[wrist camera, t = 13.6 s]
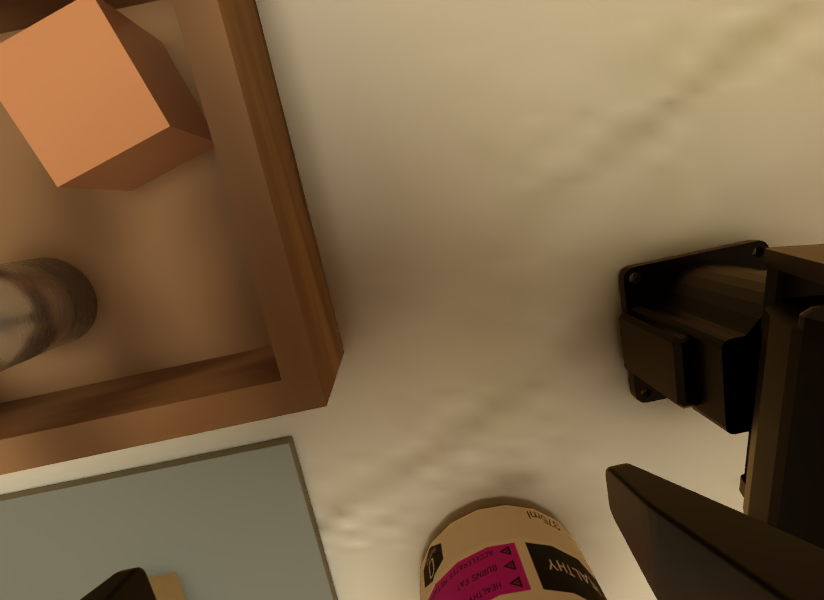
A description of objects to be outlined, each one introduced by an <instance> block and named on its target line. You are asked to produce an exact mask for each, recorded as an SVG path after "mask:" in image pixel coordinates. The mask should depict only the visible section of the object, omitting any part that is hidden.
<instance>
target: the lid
mask: <svg viewBox="0 0 824 600" xmlns="http://www.w3.org/2000/svg"><path fill="white" fill-rule="evenodd" d="M135 567H140V568H142V569H144V570H145V572H146V574H147V576H148V579H149V581H150V584H151V586H152V589H153V591H154V594H155V596H156V599H157V600H338V599H337V596H336V592H335V588H334V585H333V581H332V578H331V574H330V571H329V567H328V564H327V560H326V556H325V553H324V549H323V546H322V542H321V539H320V535H319V531H318V528H317V524H316V521H315V517H314V514H313V510H312V507H311V503H310V499H309V496H308V492H307V489H306V485H305V482H304V478H303V474H302V471H301V467H300V464H299V460H298V457H297V453H296V450H295V446H294V442H293V439H292V436H291V437H286V438H281V439H276V440H271V441H266V442H261V443H256V444H251V445H246V446H241V447H236V448H231V449H226V450H221V451H216V452H211V453H206V454H201V455H197V456H192V457H187V458H182V459H177V460H172V461H167V462H162V463H157V464H152V465H147V466H142V467H137V468H132V469H127V470H122V471H117V472H112V473H107V474H102V475H97V476H92V477H87V478H82V479H78V480H73V481H68V482H63V483H58V484H53V485H48V486H43V487H38V488H33V489H28V490H23V491H18V492H13V493H8V494H3V495H0V600H80V599H81V598H83V597H84V596H85V595H87V594H88V593H89V592H91V591H92V590H93V589H95V588H96V587H97V586H99V585H100V584H101V583H103V582H104V581H105V580H107V579H108V578H109V577H111V576H112V575H113V574H115V573H116V572H118V571H121V570H126V569H130V568H135Z"/></svg>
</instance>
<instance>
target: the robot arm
mask: <svg viewBox="0 0 824 600" xmlns="http://www.w3.org/2000/svg"><path fill="white" fill-rule="evenodd" d="M755 247H756V253H755V255H754V256H753V254H752V252H753V249H754V248H755ZM632 273H635V275H636V277H635V280H634V281H632V282H630V280H629V277H630V275H631V274H632ZM619 282H620V292H621V301H622V311H623V313H622V315H621V316H620V318H619V321H620V331H621V340H622V349H623V359H624V367H625V368H626V369H627V370H628V371H629V377H630V387H631V393H632V395H633V396H634V397H635V398H636V399H637V400H638V401H640V402H643V403H644V402H651V401H656V400H661V399H665V398H668V399H670V400H671V401H673V402H674V403H675V404H677V405H678V406H680V407H682V408H688V407H692V408H693V409H695V410H696V411H697V412H699V413H700V414H702V415H703V416H705V417H706V418H708V419H709V420H711V421H712V422H714V423H715V424H717V425H718V426H720V427H721V428H723V429H724V430H726V431H727V432H729V433H730V434H738V433H743V432H749V437H748V446H747V455H746V464H745V473H744V474H743V475H741V478H740V487H739V490H740V492H741V494H742V496H743V497H744V503H743V510H744V514H743V513H741V512H739V511H737V510H734V509H732V508H730V507H727V506H725V505H723V504H720V503H718V502H716V501H714V500H711V499H709V498H707V497H704V496H702V495H700V494H698V493H695V492H693V491H691V490H688V489H686V488H684V487H681V486H679V485H677V484H675V483H672V482H670V481H668V480H665V479H663V478H661V477H659V476H656V475H654V474H652V473H649V472H647V471H645V470H642V469H640V468H638V467H636V466H633V465H631V464H628V463H625V464H620V465H615V466H610V467H608V468H607V469H606V482H607V490H608V498H609V505H610V509H611V512H612V515H613V517H614V519H615V521H616V523H617V525H618V527H619V529H620V531H621V533H622V535H623V536H624V538H625V540H626V542H627V544H628V546H629V548H630V550H631V552H632V553H633V555H634V557H635V559H636V561H637V563H638V565H639V567H640V569H641V570H642V572H643V574H644V576H645V578H646V580H647V582H648V584H649V585H650V587H651V589H652V591H653V593H654V594H655V596H656V598H657V600H824V244H816V245H801V246H786V247H771V248H769V247H768V245H767V244H766V242H763V241H759V240H749V241H744V242H739V243H734V244H730V245H725V246H720V247H715V248H711V249H706V250H701V251H697V252H692V253H687V254H682V255H678V256H673V257H668V258H663V259H659V260H654V261H649V262H644V263H640V264H635V265H630V266H627V267H625V268H624V269H623V270H622V271H621V273H620V275H619ZM643 388H647V389H646V392H645V393H643V394H641V391H642V389H643ZM80 600H157V599H156V596H155V594H154V591H153V589H152V586H151V584H150V581H149V579H148V576H147V574H146V572H145V570H144V569H142V568H140V567H135V568H130V569H126V570H121V571H118V572H116V573H115V574H113V575H112V576H111V577H109V578H108V579H107V580H105V581H104V582H103V583H101V584H100V585H99V586H97V587H96V588H95V589H93V590H92V591H91V592H89V593H88V594H87V595H85V596H84V597H83V598H81V599H80Z"/></svg>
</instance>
